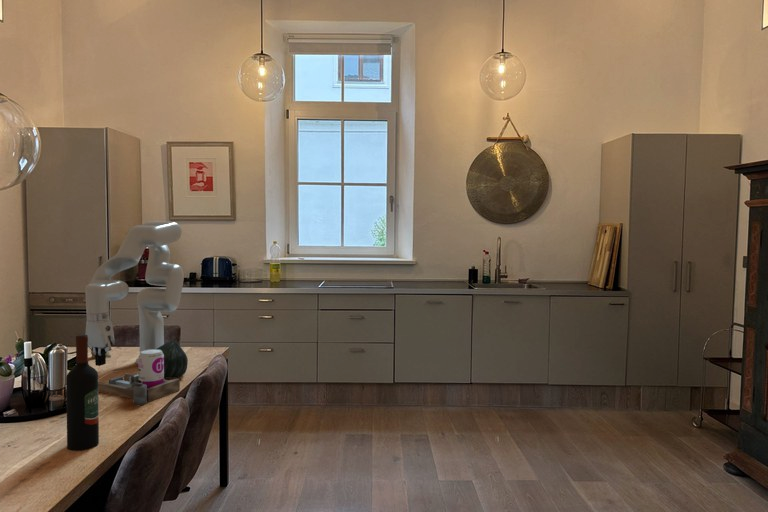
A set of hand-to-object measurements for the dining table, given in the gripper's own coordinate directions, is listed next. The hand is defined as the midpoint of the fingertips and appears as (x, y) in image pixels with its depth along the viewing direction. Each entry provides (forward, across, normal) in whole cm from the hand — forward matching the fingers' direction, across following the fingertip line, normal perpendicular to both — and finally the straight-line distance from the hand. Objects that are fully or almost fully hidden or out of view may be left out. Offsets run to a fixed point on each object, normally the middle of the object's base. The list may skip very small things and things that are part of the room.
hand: (100, 364), depth 205 cm
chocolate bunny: (+8, +31, -24) cm, 40 cm away
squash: (+7, -17, -15) cm, 24 cm away
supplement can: (+6, -27, +2) cm, 28 cm away
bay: (+6, -21, +4) cm, 22 cm away
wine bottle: (+4, -45, +43) cm, 62 cm away
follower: (+6, -16, +2) cm, 17 cm away
